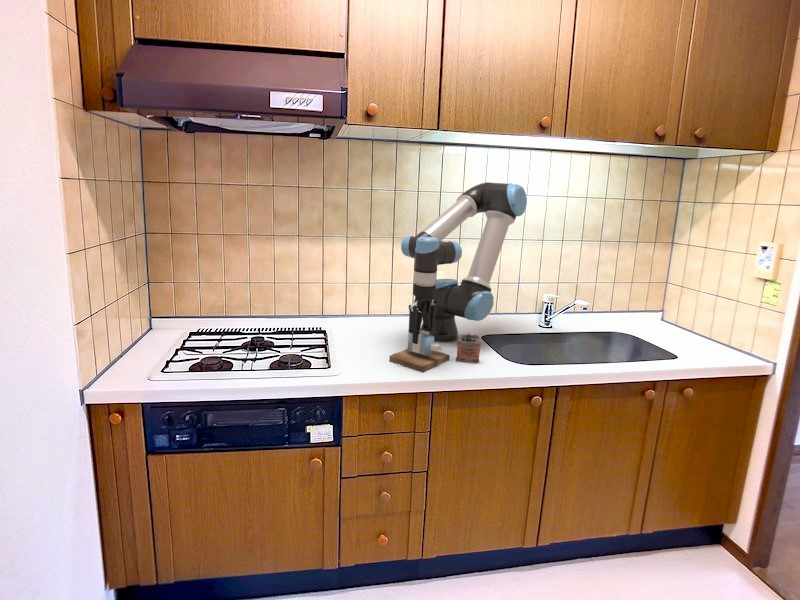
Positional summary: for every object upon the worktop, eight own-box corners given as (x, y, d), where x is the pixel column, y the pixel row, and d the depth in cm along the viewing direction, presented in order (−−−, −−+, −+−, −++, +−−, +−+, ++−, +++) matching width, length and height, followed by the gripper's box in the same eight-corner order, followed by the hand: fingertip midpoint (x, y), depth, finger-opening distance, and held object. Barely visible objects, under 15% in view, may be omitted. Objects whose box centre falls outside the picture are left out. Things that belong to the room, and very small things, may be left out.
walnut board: (417, 350, 182) (417, 345, 182) (449, 360, 174) (449, 354, 174) (389, 361, 170) (389, 355, 170) (422, 372, 162) (422, 366, 161)
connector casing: (412, 346, 176) (413, 330, 174) (441, 355, 168) (442, 338, 167) (405, 348, 173) (406, 332, 171) (434, 358, 165) (435, 341, 164)
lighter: (455, 361, 173) (458, 334, 171) (456, 358, 176) (458, 331, 174) (479, 363, 172) (481, 336, 170) (479, 360, 175) (481, 333, 173)
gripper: (430, 279, 174) (425, 342, 180) (399, 285, 161) (396, 353, 167) (448, 282, 170) (442, 347, 175) (418, 289, 157) (413, 359, 162)
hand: (420, 350), depth 171 cm, fingers closed on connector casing, 4 cm apart
